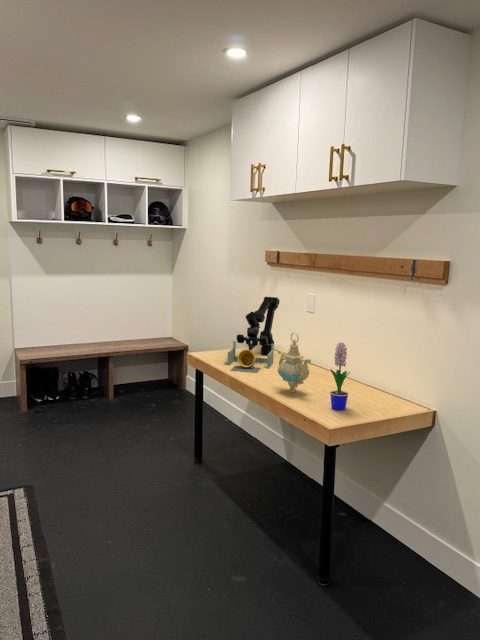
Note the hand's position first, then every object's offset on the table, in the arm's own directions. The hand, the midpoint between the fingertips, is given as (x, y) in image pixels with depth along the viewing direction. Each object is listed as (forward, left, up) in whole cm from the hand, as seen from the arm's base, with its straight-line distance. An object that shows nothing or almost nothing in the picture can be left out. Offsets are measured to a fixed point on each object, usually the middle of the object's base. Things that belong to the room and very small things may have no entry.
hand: (249, 350), depth 298 cm
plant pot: (0, 0, -6) cm, 6 cm away
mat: (+2, +10, -9) cm, 14 cm away
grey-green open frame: (-1, -3, -9) cm, 9 cm away
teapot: (-23, +53, -9) cm, 59 cm away
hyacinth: (-42, +76, -9) cm, 88 cm away
